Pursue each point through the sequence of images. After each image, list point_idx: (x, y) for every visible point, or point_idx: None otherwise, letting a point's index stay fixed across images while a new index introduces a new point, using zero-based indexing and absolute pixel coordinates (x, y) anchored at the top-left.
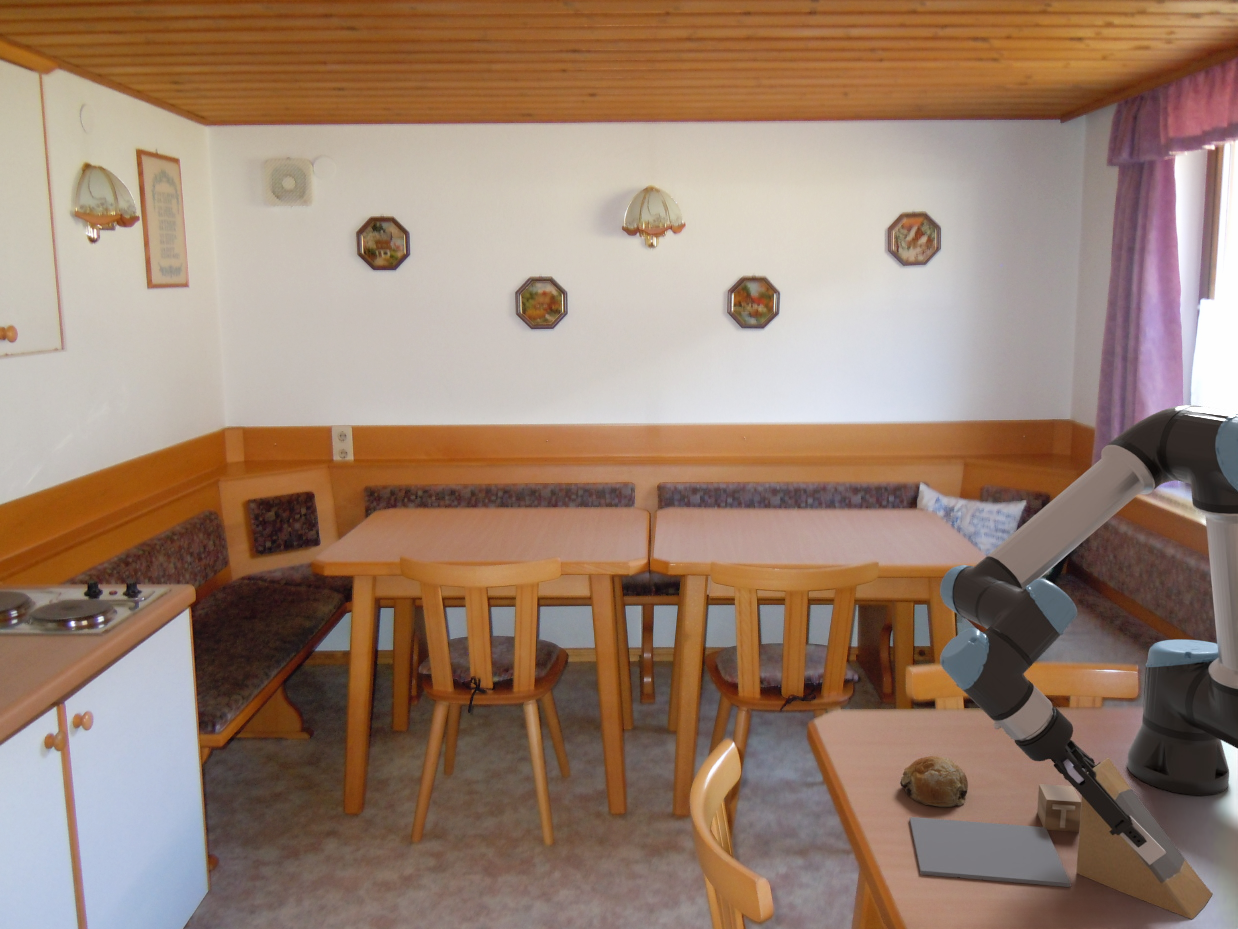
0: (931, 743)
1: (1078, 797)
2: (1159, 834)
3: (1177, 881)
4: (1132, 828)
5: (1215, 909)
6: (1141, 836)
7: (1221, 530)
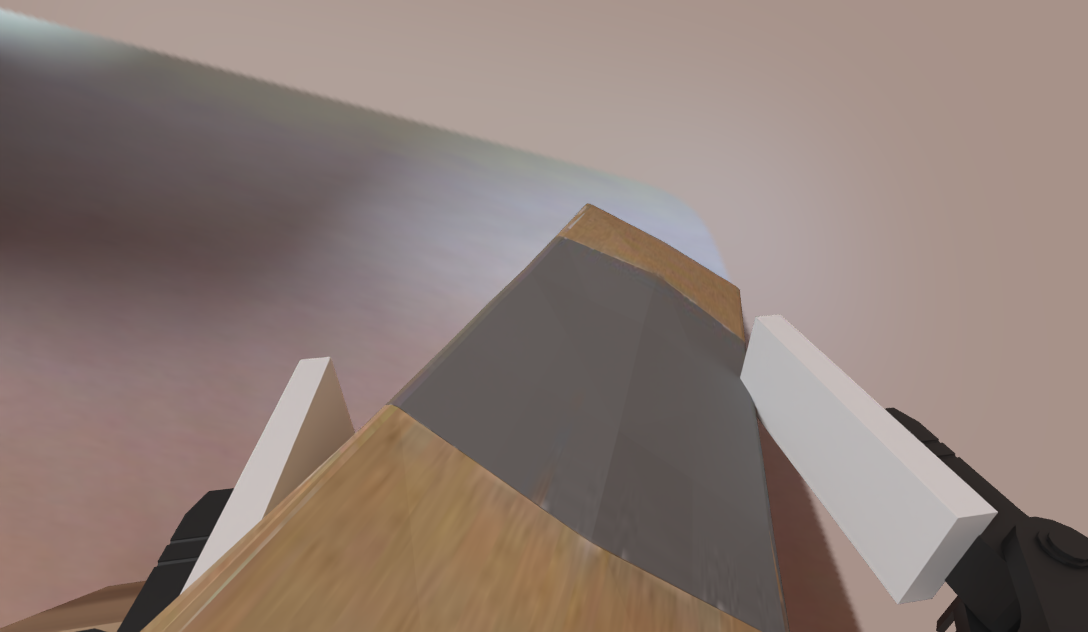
0: None
1: (103, 627)
2: (574, 302)
3: (696, 295)
4: (1015, 509)
5: (664, 217)
6: (936, 441)
7: None
